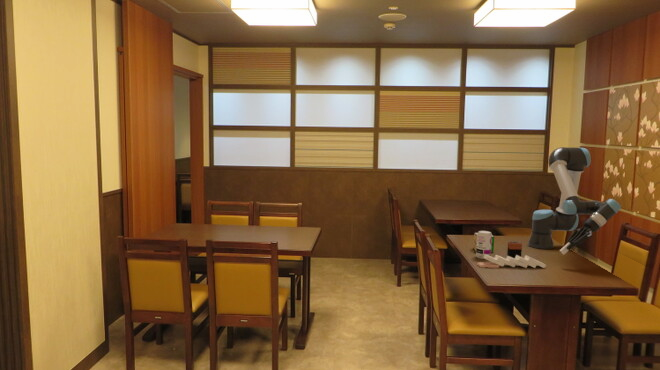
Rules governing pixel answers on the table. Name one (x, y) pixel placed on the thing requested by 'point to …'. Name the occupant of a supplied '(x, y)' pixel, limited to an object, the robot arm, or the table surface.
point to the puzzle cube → (476, 242)
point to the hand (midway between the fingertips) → (561, 252)
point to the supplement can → (483, 244)
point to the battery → (514, 249)
